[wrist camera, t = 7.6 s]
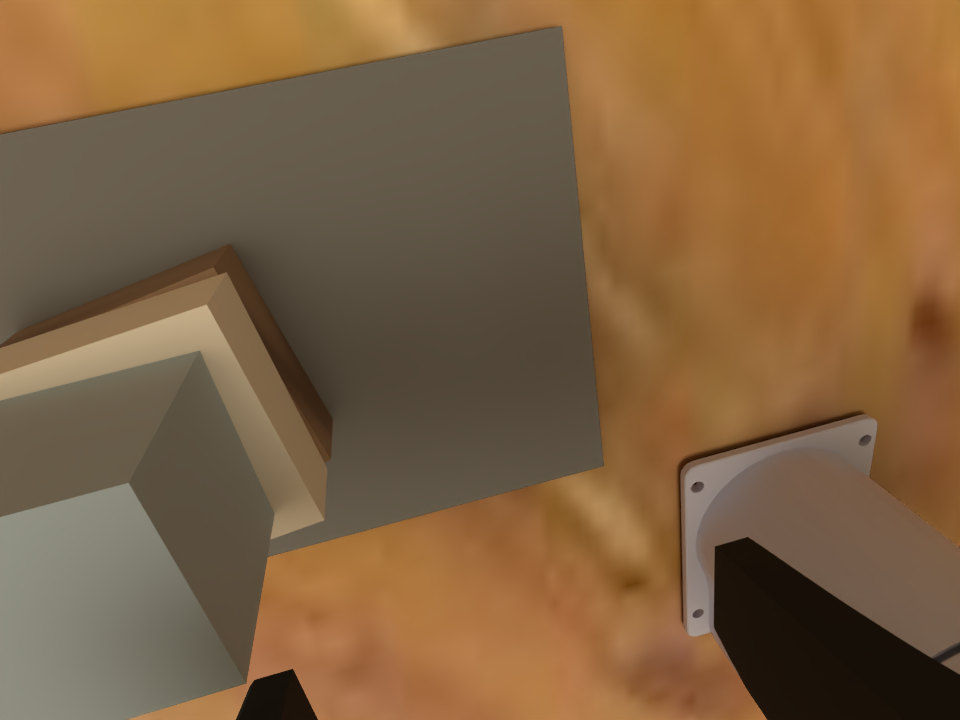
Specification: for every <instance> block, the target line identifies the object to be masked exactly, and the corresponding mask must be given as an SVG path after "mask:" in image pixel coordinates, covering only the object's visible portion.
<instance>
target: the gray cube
mask: <svg viewBox="0 0 960 720" xmlns="http://www.w3.org/2000/svg"><path fill="white" fill-rule="evenodd" d="M274 515H275V514H274V512H273V510H272V508H271V506H270V503H269V501H268V499H267V497H266V495H265V492H264V490H263V488H262V486H261V484H260V481H259V479H258V477H257V475H256V473H255V471H254V468H253V466H252V464H251V462H250V460H249V457H248V455H247V453H246V451H245V449H244V446H243V444H242V442H241V440H240V438H239V435H238V433H237V431H236V429H235V427H234V425H233V422H232V420H231V418H230V416H229V414H228V411H227V409H226V407H225V405H224V403H223V400H222V398H221V396H220V394H219V392H218V389H217V387H216V385H215V383H214V381H213V379H212V376H211V374H210V372H209V370H208V368H207V365H206V363H205V361H204V359H203V357H202V354H201V352H200V351H196V352H192V353H188V354H184V355H180V356H176V357H172V358H168V359H164V360H160V361H156V362H152V363H148V364H144V365H140V366H136V367H132V368H128V369H124V370H120V371H116V372H112V373H108V374H104V375H100V376H96V377H92V378H88V379H84V380H80V381H76V382H72V383H68V384H64V385H60V386H56V387H52V388H48V389H44V390H41V391H37V392H33V393H29V394H25V395H21V396H17V397H13V398H9V399H5V400H1V401H0V720H127V719H130V718H134V717H137V716H140V715H143V714H147V713H150V712H153V711H157V710H160V709H163V708H167V707H170V706H173V705H177V704H180V703H183V702H186V701H190V700H193V699H196V698H200V697H203V696H206V695H210V694H213V693H216V692H219V691H223V690H226V689H229V688H233V687H236V686H239V685H243V684H246V682H247V676H248V670H249V664H250V658H251V652H252V646H253V640H254V634H255V628H256V622H257V616H258V610H259V604H260V599H261V593H262V587H263V581H264V575H265V569H266V563H267V557H268V551H269V545H270V539H271V533H272V527H273V521H274Z"/></svg>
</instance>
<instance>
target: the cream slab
mask: <svg viewBox="0 0 960 720" xmlns="http://www.w3.org/2000/svg"><path fill="white" fill-rule="evenodd" d="M196 351H200V352H201V354H202V357H203V359H204V361H205V363H206V365H207V368H208V370H209V372H210V374H211V376H212V379H213V381H214V383H215V385H216V387H217V389H218V392H219V394H220V396H221V398H222V400H223V403H224V405H225V407H226V409H227V411H228V414H229V416H230V418H231V420H232V422H233V425H234V427H235V429H236V431H237V433H238V435H239V438H240V440H241V442H242V444H243V446H244V449H245V451H246V453H247V455H248V457H249V460H250V462H251V464H252V466H253V468H254V471H255V473H256V475H257V477H258V479H259V481H260V484H261V486H262V488H263V490H264V492H265V495H266V497H267V499H268V501H269V503H270V506H271V508H272V510H273V512H274V514H275V515H274V521H273V527H272V533H271V539H274V538H276V537H279V536H282V535H285V534H288V533H290V532H293V531H296V530H299V529H302V528H304V527H307V526H310V525H313V524H315V523H318V522H321V521H324V519H325V501H326V483H327V467H326V465H325V463H324V461H323V459H322V457H321V455H320V453H319V451H318V449H317V447H316V445H315V443H314V441H313V439H312V437H311V435H310V434H309V432H308V430H307V428H306V426H305V424H304V422H303V420H302V418H301V416H300V414H299V412H298V410H297V408H296V406H295V404H294V402H293V400H292V398H291V397H290V395H289V393H288V391H287V389H286V387H285V385H284V383H283V381H282V379H281V377H280V375H279V373H278V371H277V369H276V367H275V365H274V363H273V361H272V360H271V358H270V356H269V354H268V352H267V350H266V348H265V346H264V344H263V342H262V340H261V338H260V336H259V334H258V332H257V330H256V328H255V326H254V324H253V323H252V321H251V319H250V317H249V315H248V313H247V311H246V309H245V307H244V305H243V303H242V301H241V299H240V297H239V295H238V293H237V291H236V289H235V287H234V286H233V284H232V282H231V280H230V278H229V276H228V274H227V272H226V273H223V274H220V275H217V276H214V277H211V278H208V279H205V280H202V281H199V282H196V283H193V284H190V285H187V286H184V287H181V288H178V289H175V290H172V291H169V292H166V293H163V294H160V295H157V296H154V297H151V298H148V299H145V300H142V301H139V302H136V303H133V304H130V305H127V306H124V307H121V308H118V309H116V310H113V311H110V312H107V313H104V314H101V315H98V316H95V317H92V318H89V319H86V320H83V321H80V322H77V323H74V324H71V325H68V326H65V327H62V328H59V329H56V330H53V331H50V332H47V333H44V334H41V335H38V336H35V337H32V338H29V339H26V340H23V341H20V342H17V343H14V344H11V345H8V346H5V347H2V348H0V401H1V400H5V399H9V398H13V397H17V396H21V395H25V394H29V393H33V392H37V391H41V390H44V389H48V388H52V387H56V386H60V385H64V384H68V383H72V382H76V381H80V380H84V379H88V378H92V377H96V376H100V375H104V374H108V373H112V372H116V371H120V370H124V369H128V368H132V367H136V366H140V365H144V364H148V363H152V362H156V361H160V360H164V359H168V358H172V357H176V356H180V355H184V354H188V353H192V352H196ZM271 539H270V540H271Z"/></svg>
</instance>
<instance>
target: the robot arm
mask: <svg viewBox="0 0 960 720" xmlns="http://www.w3.org/2000/svg"><path fill="white" fill-rule="evenodd" d="M877 426H878V425H877V421H876V420H875V419H874V418H872V417H871V416H869V415H867V414H862V415H858V416H854V417H851V418H847V419H843V420H840V421H836V422H833V423H829V424H825V425H822V426H818V427H814V428H811V429H807V430H803V431H800V432H796V433H792V434H789V435H785V436H781V437H778V438H774V439H771V440H767V441H763V442H760V443H756V444H752V445H749V446H745V447H741V448H738V449H734V450H730V451H727V452H723V453H719V454H716V455H712V456H709V457H705V458H701V459H698V460H694V461H691V462H689V463H687V464H686V465H685V466H684V467H683V469H682V470H681V475H680V477H681V524H682V570H683V617H684V628H685V630H686V632H687V633H688V634H689V635H690V636H700V635H703V634H706V633H709V632H711V633H712V635H713V637H714V638H715V640H716V641H717V643H718V644H719V646H720V647H721V649H722V650H723V652H724V654H725V655H726V657H727V658H728V660H729V661H730V663H731V664H732V666H733V667H734V669H735V671H736V672H737V674H738V675H739V677H740V678H741V680H742V681H743V683H744V685H745V687H746V688H747V690H748V691H749V693H750V694H751V696H752V697H753V699H754V700H755V702H756V703H757V705H758V706H759V708H760V709H761V711H762V712H763V714H764V715H765V717H766V718H767V720H960V548H959V547H958V546H957V545H956V544H954V543H953V542H952V541H950V540H949V539H948V538H947V537H945V536H944V535H943V534H941V533H940V532H939V531H938V530H936V529H935V528H934V527H932V526H931V525H930V524H928V523H927V522H926V521H925V520H923V519H922V518H921V517H919V516H918V515H917V514H916V513H914V512H913V511H912V510H910V509H909V508H908V507H907V506H905V505H904V504H903V503H901V502H900V501H899V500H898V499H896V498H895V497H894V496H892V495H891V494H890V493H889V492H887V491H886V490H885V489H883V488H882V487H881V486H880V485H878V484H877V483H876V482H874V481H873V480H872V479H870V478H869V476H870V470H871V463H872V457H873V451H874V445H875V439H876V433H877ZM696 482H698V483H697V484H696V485H694V486H692V485H693V484H694V483H696ZM236 720H318V719H317V717H316V715H315V713H314V711H313V709H312V707H311V705H310V703H309V701H308V699H307V697H306V695H305V693H304V691H303V689H302V687H301V685H300V682H299V680H298V678H297V676H296V674H295V672H294V670H293V669H291V670H288V671H284V672H281V673H277V674H274V675H270V676H267V677H263V678H260V679H257V680H254V682H253V683H252V684H251V686H250V687H249V690H248V692H247V695H246V697H245V700H244V702H243V704H242V707H241V709H240V712H239V714H238V716H237V719H236Z"/></svg>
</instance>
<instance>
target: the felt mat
mask: <svg viewBox="0 0 960 720" xmlns="http://www.w3.org/2000/svg"><path fill="white" fill-rule="evenodd" d="M228 244H231V246H232V247H233V249H234V251H235V252H236V254H237V256H238V258H239V259H240V261H241V263H242V264H243V266H244V268H245V270H246V271H247V273H248V275H249V276H250V278H251V280H252V282H253V283H254V285H255V287H256V288H257V290H258V292H259V294H260V295H261V297H262V299H263V300H264V302H265V304H266V306H267V307H268V309H269V311H270V312H271V314H272V316H273V318H274V319H275V321H276V323H277V324H278V326H279V328H280V330H281V331H282V333H283V335H284V336H285V338H286V340H287V342H288V343H289V345H290V347H291V348H292V350H293V352H294V354H295V355H296V357H297V359H298V360H299V362H300V364H301V366H302V367H303V369H304V371H305V372H306V374H307V376H308V378H309V379H310V381H311V383H312V384H313V386H314V388H315V390H316V391H317V393H318V395H319V396H320V398H321V400H322V402H323V403H324V405H325V407H326V408H327V410H328V412H329V413H330V415H331V417H332V419H333V429H332V451H331V460H330V461H327V462H325V465H326V467H327V483H326V501H325V519H324V521H321V522H318V523H315V524H313V525H310V526H307V527H304V528H302V529H299V530H296V531H293V532H290V533H288V534H285V535H282V536H279V537H276V538H274V539H271V540H270V545H269V551H268V557H269V556H273V555H277V554H281V553H284V552H288V551H292V550H295V549H299V548H303V547H306V546H310V545H314V544H317V543H321V542H325V541H329V540H332V539H336V538H340V537H343V536H347V535H351V534H354V533H358V532H362V531H365V530H369V529H373V528H377V527H380V526H384V525H388V524H391V523H395V522H399V521H402V520H406V519H410V518H413V517H417V516H421V515H425V514H428V513H432V512H436V511H439V510H443V509H447V508H450V507H454V506H458V505H461V504H465V503H469V502H473V501H476V500H480V499H484V498H487V497H491V496H495V495H498V494H502V493H506V492H509V491H513V490H517V489H521V488H524V487H528V486H532V485H535V484H539V483H543V482H546V481H550V480H554V479H557V478H561V477H565V476H569V475H572V474H576V473H580V472H583V471H587V470H591V469H594V468H598V467H602V466H604V463H603V452H602V442H601V431H600V420H599V410H598V399H597V389H596V378H595V368H594V357H593V347H592V336H591V326H590V315H589V305H588V294H587V284H586V273H585V263H584V252H583V242H582V231H581V221H580V210H579V199H578V189H577V178H576V168H575V157H574V147H573V136H572V126H571V115H570V105H569V94H568V84H567V73H566V63H565V52H564V42H563V31H562V26H559V27H554V28H548V29H543V30H538V31H533V32H528V33H523V34H517V35H512V36H507V37H502V38H497V39H491V40H486V41H481V42H476V43H471V44H466V45H460V46H455V47H450V48H445V49H440V50H435V51H429V52H424V53H419V54H414V55H409V56H404V57H398V58H393V59H388V60H383V61H378V62H372V63H367V64H362V65H357V66H352V67H347V68H341V69H336V70H331V71H326V72H321V73H316V74H310V75H305V76H300V77H295V78H290V79H285V80H279V81H274V82H269V83H264V84H259V85H253V86H248V87H243V88H238V89H233V90H228V91H222V92H217V93H212V94H207V95H202V96H197V97H191V98H186V99H181V100H176V101H171V102H166V103H160V104H155V105H150V106H145V107H140V108H135V109H129V110H124V111H119V112H114V113H109V114H103V115H98V116H93V117H88V118H83V119H78V120H72V121H67V122H62V123H57V124H52V125H47V126H41V127H36V128H31V129H26V130H21V131H16V132H10V133H5V134H0V345H1V344H2V343H3V342H5V341H6V340H7V339H9V338H10V337H11V336H12V335H14V334H15V333H16V332H18V331H20V330H23V329H25V328H27V327H30V326H32V325H35V324H37V323H39V322H42V321H44V320H47V319H49V318H51V317H54V316H56V315H59V314H61V313H64V312H66V311H68V310H71V309H73V308H76V307H78V306H80V305H83V304H85V303H88V302H90V301H93V300H95V299H97V298H100V297H102V296H105V295H107V294H109V293H112V292H114V291H117V290H119V289H122V288H124V287H126V286H129V285H131V284H134V283H136V282H138V281H141V280H143V279H146V278H148V277H150V276H153V275H155V274H158V273H160V272H163V271H165V270H167V269H170V268H172V267H175V266H177V265H179V264H182V263H184V262H187V261H189V260H192V259H194V258H196V257H199V256H201V255H204V254H206V253H208V252H211V251H213V250H216V249H218V248H221V247H223V246H225V245H228Z"/></svg>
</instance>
